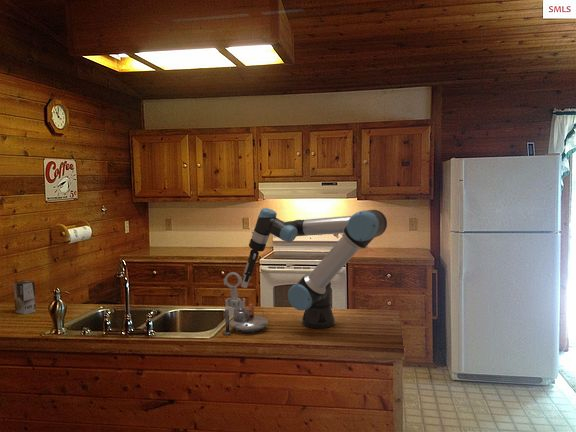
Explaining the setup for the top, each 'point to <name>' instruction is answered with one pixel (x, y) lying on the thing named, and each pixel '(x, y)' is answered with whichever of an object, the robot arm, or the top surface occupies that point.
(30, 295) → the coffee box
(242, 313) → the cover
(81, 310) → the top surface
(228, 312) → the dial stand
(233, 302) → the engine component
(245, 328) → the turntable
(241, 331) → the turntable base
